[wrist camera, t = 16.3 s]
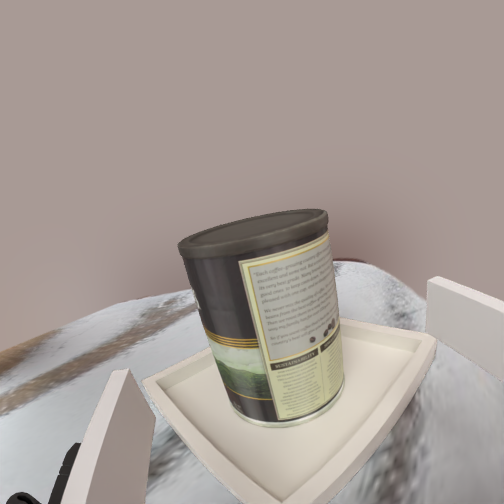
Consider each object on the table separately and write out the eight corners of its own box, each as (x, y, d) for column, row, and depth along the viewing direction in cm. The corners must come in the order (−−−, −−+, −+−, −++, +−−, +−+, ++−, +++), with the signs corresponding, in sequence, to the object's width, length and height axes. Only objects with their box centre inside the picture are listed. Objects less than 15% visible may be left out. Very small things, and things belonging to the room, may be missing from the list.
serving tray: (150, 398, 24) (141, 380, 24) (287, 321, 36) (284, 304, 35) (286, 537, 8) (279, 528, 8) (434, 356, 20) (437, 335, 19)
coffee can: (214, 429, 18) (148, 256, 15) (242, 357, 28) (206, 226, 25) (352, 422, 16) (335, 220, 13) (341, 346, 25) (321, 203, 23)
